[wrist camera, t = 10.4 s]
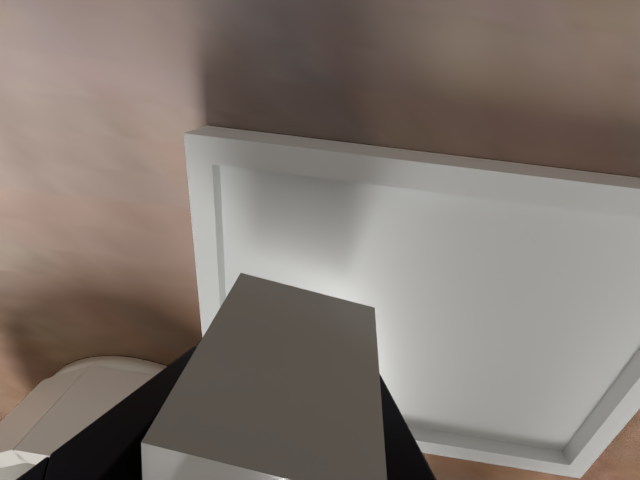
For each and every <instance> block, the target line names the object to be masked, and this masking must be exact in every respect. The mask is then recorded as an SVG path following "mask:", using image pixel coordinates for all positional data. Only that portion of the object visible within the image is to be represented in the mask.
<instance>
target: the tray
mask: <svg viewBox="0 0 640 480" xmlns="http://www.w3.org/2000/svg"><path fill="white" fill-rule="evenodd" d="M184 143H185V154H186V165H187V176H188V187H189V198H190V209H191V220H192V231H193V241H194V252H195V263H196V274H197V285H198V296H199V307H200V318H201V329H202V338H203V336H204V334H205V333H206V331H207V329H208V328H209V326H210V324H211V322H212V321H213V319H214V317H215V316H216V314H217V312H218V311H219V309H220V307H221V305H222V304H223V302H224V300H225V299H226V297H227V295H228V293H229V292H230V290H231V288H232V287H233V285H234V283H235V282H236V280H237V278H238V276H239V275H240V273H244V274H248V275H252V276H255V277H259V278H263V279H267V280H271V281H275V282H278V283H282V284H286V285H290V286H294V287H298V288H301V289H305V290H309V291H313V292H317V293H321V294H324V295H328V296H332V297H336V298H340V299H344V300H347V301H351V302H355V303H359V304H363V305H367V306H371V307H374V308H375V319H376V333H377V347H378V360H379V374H380V375H381V377H382V378H383V380H384V382H385V384H386V386H387V388H388V390H389V392H390V393H391V395H392V397H393V399H394V401H395V403H396V405H397V407H398V408H399V410H400V412H401V414H402V416H403V418H404V420H405V422H406V423H407V425H408V427H409V429H410V431H411V433H412V435H413V437H414V438H415V440H416V442H417V444H418V446H419V448H420V450H421V452H422V453H427V454H433V455H439V456H446V457H452V458H458V459H464V460H470V461H476V462H482V463H489V464H495V465H501V466H507V467H513V468H519V469H525V470H531V471H538V472H544V473H550V474H556V475H562V476H568V477H574V478H581V477H582V476H583V474H584V473H585V472H586V471H587V470H588V469H589V467H590V466H591V465H592V464H593V463H594V462H595V460H596V459H597V458H598V457H599V456H600V454H601V453H602V452H603V451H604V450H605V449H606V447H607V446H608V445H609V444H610V443H611V442H612V440H613V439H614V438H615V437H616V436H617V434H618V433H619V432H620V431H621V430H622V429H623V427H624V426H625V425H626V424H627V423H628V421H629V420H630V419H631V418H632V417H633V416H634V414H635V413H636V412H637V411H638V410H639V409H640V178H638V177H630V176H621V175H613V174H605V173H597V172H588V171H580V170H572V169H563V168H555V167H547V166H539V165H530V164H522V163H514V162H505V161H497V160H489V159H481V158H472V157H464V156H456V155H447V154H439V153H431V152H423V151H414V150H406V149H398V148H389V147H381V146H373V145H364V144H356V143H348V142H340V141H331V140H323V139H315V138H306V137H298V136H290V135H282V134H273V133H265V132H257V131H248V130H240V129H232V128H224V127H215V126H207V125H206V126H203V127H200V128H197V129H195V130H192V131H189V132H186V133H184Z"/></svg>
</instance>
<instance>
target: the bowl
mask: <svg viewBox="0 0 640 480" xmlns="http://www.w3.org/2000/svg"><path fill="white" fill-rule="evenodd" d="M166 367H167V366H165V365H162V364H158V363H155V362H151V361H147V360H142V359H137V358H131V357H122V356H98V357H89V358H85V359H81V360H77V361H75V362H72V363H70V364H68V365H66V366H64V367H63V368H61V369H60V370H59V371H58V372H57V373H56V374H55V375H54V376H53V377H50V378H47V379H44V380H42V381H41V382H40V383H39V384H38V385H37V386H36V387H35V388H34V389H33V390H32V391H31V392H30V393H29V394H28V395H27V396H26V397H25V398H24V399H23V400H22V401H21V402H20V403H19V404H18V405H17V406H16V407H15V408H14V409H13V410H12V411H11V412H10V413H9V414H7V415H6V416H5V417H4V418H3V419H2V420H1V421H0V480H16V479H17V478H19V477H20V476H21V475H23V474H24V473H25V472H27V471H28V470H29V469H31V468H32V467H33V466H35V465H36V464H37V463H39V462H40V461H41V460H43V459H44V458H46V457H50V455H51V453H52V452H54V451H55V450H56V449H58V448H59V447H60V446H62V445H63V444H64V443H66V442H67V441H68V440H70V439H71V438H72V437H74V436H75V435H76V434H78V433H79V432H80V431H82V430H83V429H84V428H86V427H87V426H88V425H90V424H91V423H92V422H94V421H95V420H96V419H98V418H99V417H100V416H102V415H103V414H104V413H106V412H107V411H108V410H110V409H111V408H112V407H114V406H115V405H116V404H118V403H119V402H120V401H122V400H123V399H124V398H126V397H127V396H128V395H130V394H131V393H132V392H134V391H135V390H136V389H138V388H139V387H140V386H142V385H143V384H144V383H146V382H147V381H148V380H150V379H151V378H152V377H154V376H155V375H156V374H158V373H159V372H160V371H162V370H163V369H164V368H166Z"/></svg>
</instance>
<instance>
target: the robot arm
mask: <svg viewBox="0 0 640 480" xmlns="http://www.w3.org/2000/svg"><path fill="white" fill-rule="evenodd" d="M197 346H198V345H196V346H194V347H192V348H191V349H190V350H188V351H187V352H186V353H184V354H183V355H182V356H180V357H179V358H178V359H176V360H175V361H174V362H172V363H171V364H170V365H168V366H167V367H166V368H164V369H163V370H162V371H160V372H159V373H158V374H156V375H155V376H154V377H152V378H151V379H150V380H148V381H147V382H146V383H144V384H143V385H142V386H140V387H139V388H138V389H136V390H135V391H134V392H132V393H131V394H130V395H128V396H127V397H126V398H124V399H123V400H122V401H120V402H119V403H118V404H116V405H115V406H114V407H112V408H111V409H110V410H108V411H107V412H106V413H104V414H103V415H102V416H100V417H99V418H98V419H96V420H95V421H94V422H92V423H91V424H90V425H88V426H87V427H86V428H84V429H83V430H82V431H80V432H79V433H78V434H76V435H75V436H74V437H72V438H71V439H70V440H68V441H67V442H66V443H64V444H63V445H62V446H60V447H59V448H58V449H56V450H55V451H54V452H52V453H51V455H50V457H46V458H44V459H43V460H41V461H40V462H39V463H37V464H36V465H35V466H33V467H32V468H31V469H29V470H28V471H27V472H25V473H24V474H23V475H21V476H20V477H19V478H17V479H16V480H142V454H141V442H142V440H143V438H144V437H145V435H146V433H147V432H148V430H149V428H150V427H151V425H152V423H153V421H154V420H155V418H156V416H157V415H158V413H159V411H160V409H161V408H162V406H163V404H164V403H165V401H166V399H167V398H168V396H169V394H170V392H171V391H172V389H173V387H174V386H175V384H176V382H177V380H178V379H179V377H180V375H181V374H182V372H183V370H184V369H185V367H186V365H187V363H188V362H189V360H190V358H191V357H192V355H193V353H194V351H195V350H196V348H197ZM380 388H381V402H382V416H383V430H384V444H385V458H386V471H387V480H436V478H435V476H434V474H433V472H432V470H431V468H430V467H429V465H428V463H427V461H426V459H425V457H424V455H423V453H422V452H421V450H420V448H419V446H418V444H417V442H416V440H415V438H414V437H413V435H412V433H411V431H410V429H409V427H408V425H407V423H406V422H405V420H404V418H403V416H402V414H401V412H400V410H399V408H398V407H397V405H396V403H395V401H394V399H393V397H392V395H391V393H390V392H389V390H388V388H387V386H386V384H385V382H384V380H383V378H382V377H381V375H380Z"/></svg>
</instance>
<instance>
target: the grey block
mask: <svg viewBox="0 0 640 480" xmlns="http://www.w3.org/2000/svg"><path fill="white" fill-rule="evenodd" d="M141 454H142V480H387V471H386V458H385V444H384V430H383V416H382V402H381V388H380V374H379V360H378V347H377V333H376V319H375V308H374V307H371V306H367V305H363V304H359V303H355V302H351V301H347V300H344V299H340V298H336V297H332V296H328V295H324V294H321V293H317V292H313V291H309V290H305V289H301V288H298V287H294V286H290V285H286V284H282V283H278V282H275V281H271V280H267V279H263V278H259V277H255V276H252V275H248V274H244V273H240V275H239V276H238V278H237V280H236V282H235V283H234V285H233V287H232V288H231V290H230V292H229V293H228V295H227V297H226V299H225V300H224V302H223V304H222V305H221V307H220V309H219V311H218V312H217V314H216V316H215V317H214V319H213V321H212V322H211V324H210V326H209V328H208V329H207V331H206V333H205V334H204V336H203V338H202V340H201V341H200V343H199V345H198V346H197V348H196V350H195V351H194V353H193V355H192V357H191V358H190V360H189V362H188V363H187V365H186V367H185V369H184V370H183V372H182V374H181V375H180V377H179V379H178V380H177V382H176V384H175V386H174V387H173V389H172V391H171V392H170V394H169V396H168V398H167V399H166V401H165V403H164V404H163V406H162V408H161V409H160V411H159V413H158V415H157V416H156V418H155V420H154V421H153V423H152V425H151V427H150V428H149V430H148V432H147V433H146V435H145V437H144V438H143V440H142V442H141Z"/></svg>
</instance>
